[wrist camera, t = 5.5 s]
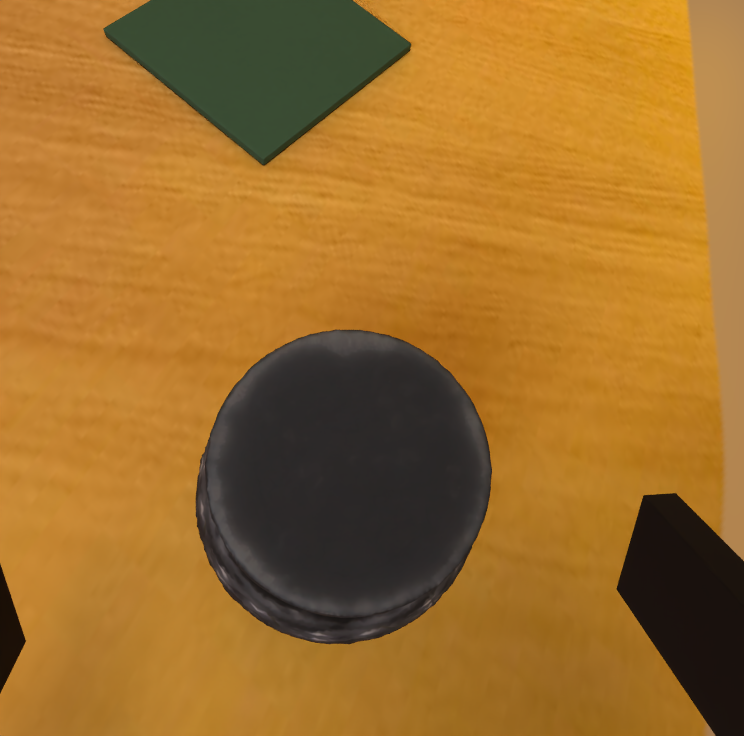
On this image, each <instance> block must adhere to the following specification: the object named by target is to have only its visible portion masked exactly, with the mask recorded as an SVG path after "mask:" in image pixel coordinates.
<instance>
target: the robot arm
mask: <svg viewBox="0 0 744 736" xmlns="http://www.w3.org/2000/svg"><path fill="white" fill-rule="evenodd" d="M617 591H618V592H619V594H620V595H621V597H622V598H623V599H624V601H625V602H626V604H627V605H628V607H629V608H630V610H631V611H632V613H633V614H634V616H635V617H636V619H637V620H638V622H639V623H640V625H641V626H642V628H643V629H644V630H645V632H646V633H647V635H648V636H649V638H650V639H651V641H652V642H653V644H654V645H655V647H656V648H657V650H658V651H659V653H660V654H661V656H662V657H663V659H664V660H665V661H666V663H667V664H668V666H669V667H670V669H671V670H672V672H673V673H674V675H675V676H676V678H677V679H678V681H679V682H680V684H681V685H682V687H683V688H684V690H685V691H686V692H687V694H688V695H689V697H690V698H691V700H692V701H693V703H694V704H695V706H696V707H697V709H698V710H699V712H700V713H701V715H702V716H703V718H704V719H705V721H706V722H707V724H708V725H709V726H710V728H711V729H712V731H713V732H714V734H715V735H716V736H744V561H743V560H742V559H741V558H740V557H739V556H738V555H737V554H736V553H735V552H734V551H733V550H732V549H731V548H730V547H729V546H728V545H727V544H726V543H725V542H724V541H723V540H722V539H721V538H720V537H719V536H718V535H717V534H716V533H715V532H714V531H713V530H712V529H711V528H710V527H709V526H708V525H707V524H706V523H705V522H704V521H703V520H702V519H701V518H700V517H699V516H698V515H697V514H696V513H695V512H694V511H693V510H692V509H691V508H690V507H689V506H688V505H687V504H686V503H685V502H684V501H683V500H682V499H681V498H680V497H679V496H678V495H677V494H676V493H673V494H657V495H643V499H642V502H641V506H640V509H639V513H638V516H637V520H636V523H635V527H634V530H633V534H632V537H631V541H630V544H629V547H628V551H627V554H626V558H625V561H624V565H623V568H622V572H621V575H620V579H619V582H618V586H617ZM25 642H26V640H25V637H24V634H23V631H22V628H21V625H20V622H19V619H18V616H17V613H16V610H15V607H14V604H13V601H12V598H11V595H10V592H9V589H8V586H7V583H6V580H5V577H4V574H3V571H2V568H1V565H0V693H1V691H2V689H3V687H4V685H5V683H6V681H7V679H8V677H9V675H10V672H11V670H12V668H13V666H14V664H15V662H16V660H17V658H18V656H19V654H20V652H21V650H22V648H23V646H24V644H25Z"/></svg>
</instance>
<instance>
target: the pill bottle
mask: <svg viewBox="0 0 744 736" xmlns="http://www.w3.org/2000/svg"><path fill="white" fill-rule="evenodd" d="M199 468H200V471H199V475H198V480H197V491H196V517H197V527H198V529H199V534H200V538H201V540H202V542H203V544H204V550H205V552H206V553H207V557H208V560H209V563H210V565H211V566H212V568H213V569H214V571H215V572H216V575H217V577H218V578H219V580H220V582H221V583H222V584H223V587H224V589H225V590H226V591H227V592H228V594H229V595H230V596H231V597H232V598H233V599H234V600H235V601H237V602H238V603H239V604H240V605H241V606H242V607H243V608H244V609H245V610H247V611H249V612H250V613H251V614H252V615H253V616H254V617H256V618H257V619H258V620H260V621H262V622H263V623H264V624H266V625H267V626H270V627H272V628H274V629H276V630H278V631H279V632H281V633H284V634H288V635H290V636H293V637H296V638H300V639H304V640H308V641H311V642H316V643H325V644H351V643H355V642H358V641H364V640H370V639H375V638H379V637H382V636H384V635H386V634H390V633H392V632H394V631H396V630H398V629H400V628H402V627H404V626H406V625H407V624H408V623H411V622H412V621H414V620H415V619H417V618H418V617H420V616H421V615H422V614H423V613H425V612H426V611H427V610H428V609H429V608H430V607H432V606H434V605H435V604H436V602H437V601H438V600H439V599H440V598H441V596H442V594H443V593H444V592H446V591H447V590H448V589H449V587H450V586H451V585H452V584H453V582H454V581H455V579H456V577H457V575H458V574H459V572H460V571H461V569H462V567H463V565H464V563H465V561H466V558H467V556H468V554H469V553H470V550H471V549H472V545H473V543H474V541H475V540H476V538H477V536H478V533H479V531H480V528H481V525H482V523H483V521H484V518H485V515H486V511H487V508H488V502H489V497H490V489H491V486H490V485H491V474H492V467H491V460H490V451H489V445H488V441H487V437H486V433H485V430H484V427H483V424H482V422H481V419H480V417H479V415H478V413H477V411H476V408H475V406H474V404H473V402H472V401H471V399H470V397H469V396H468V395H467V393H466V392H465V390H464V389H463V388H462V386H461V385H460V384H459V383H458V382H457V380H456V379H455V378H454V377H453V375H452V374H451V373H450V372H449V371H448V370H447V369H445V368H444V367H443V366H442V365H441V364H440V363H439V362H438V361H437V360H436V359H434V358H433V357H431V356H430V355H428V354H427V353H425V352H424V351H422V350H421V349H419V348H417V347H415V346H413V345H411V344H410V343H407V342H405V341H403V340H401V339H398V338H395V337H391V336H389V335H384V334H379V333H374V332H370V331H362V330H333V331H326V332H320V333H316V334H310V335H307V336H305V337H301V338H298V339H296V340H294V341H292V342H290V343H287V344H285V345H283V346H282V347H280V348H278V349H275V350H274V351H273V352H271V353H269V354H267V355H266V356H265V357H264V358H262V359H260V361H259V362H257V363H256V364H254V365H253V366H252V367H251V368H250V369H249V370H248V371H247V372H246V374H245V375H244V376H243V378H242V379H241V380H240V381H239V382H237V383H236V385H235V386H234V387H233V389H232V390H231V392H230V393H229V395H228V396H227V398H226V400H225V402H224V403H223V405H222V407H221V409H220V411H219V412H218V415H217V418H216V421H215V423H214V426H213V428H212V431H211V433H210V438H209V440H208V443H207V446H206V447H205V452H204V454H203V455H202V458H201V460H200V467H199Z"/></svg>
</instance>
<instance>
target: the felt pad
mask: <svg viewBox="0 0 744 736" xmlns="http://www.w3.org/2000/svg"><path fill="white" fill-rule="evenodd" d="M104 32H105V35H106V36H107V37H108V38H109V39H110V40H111V41H113V42H114V43H115V44H116V45H118V46H119V47H120V48H121V49H122V50H124V51H125V52H126V53H127V54H129V55H130V56H131V57H132V58H133V59H135V60H136V61H137V62H138V63H140V64H141V65H142V66H143V67H144V68H146V69H147V70H148V71H149V72H150V73H152V74H153V75H154V76H155V77H157V78H158V79H159V80H160V81H161V82H163V83H164V84H165V85H166V86H168V87H169V88H170V89H171V90H172V91H174V92H175V93H176V94H177V95H179V96H180V97H181V98H182V99H183V100H185V101H186V102H187V103H188V104H189V105H191V106H192V107H193V108H194V109H196V110H197V111H198V112H199V113H200V114H202V115H203V116H204V117H205V118H207V119H208V120H209V121H210V122H211V123H213V124H214V125H215V126H216V127H218V128H219V129H220V130H221V131H222V132H224V133H225V134H226V135H227V136H228V137H230V138H231V139H232V140H233V141H235V142H236V143H237V144H238V145H239V146H241V147H242V148H243V149H244V150H246V151H247V152H248V153H249V154H250V155H252V156H253V157H254V158H255V159H257V160H258V161H259V162H260V163H261V164H263V165H265V164H266V163H268V162H269V161H270V160H271V159H273V158H274V157H275V156H276V155H278V154H279V153H280V152H282V151H283V150H284V149H285V148H287V147H288V146H289V145H290V144H292V143H293V142H294V141H295V140H297V139H298V138H299V137H301V136H302V135H303V134H304V133H306V132H307V131H308V130H309V129H311V128H312V127H313V126H315V125H316V124H317V123H318V122H320V121H321V120H322V119H323V118H325V117H326V116H327V115H329V114H330V113H331V112H332V111H334V110H335V109H336V108H337V107H339V106H340V105H341V104H342V103H344V102H345V101H346V100H348V99H349V98H350V97H351V96H353V95H354V94H355V93H356V92H358V91H359V90H360V89H362V88H363V87H364V86H365V85H367V84H368V83H369V82H370V81H372V80H373V79H374V78H376V77H377V76H378V75H379V74H381V73H382V72H383V71H384V70H386V69H387V68H388V67H389V66H391V65H392V64H393V63H395V62H396V61H397V60H398V59H400V58H401V57H402V56H403V55H405V54H406V53H407V52H409V51H410V47H411V43H410V42H408V41H407V40H405V39H404V38H403V37H401V36H400V35H399V34H397V33H396V32H395V31H393V30H392V29H391V28H389V27H388V26H386V25H385V24H384V23H382V22H381V21H380V20H378V19H377V18H376V17H374V16H373V15H372V14H370V13H369V12H367V11H366V10H365V9H363V8H362V7H361V6H359V5H358V4H357V3H355V2H354V1H353V0H150V1H149V2H147V3H145V4H144V5H142V6H140V7H139V8H137V9H135V10H134V11H132V12H130V13H129V14H127V15H125V16H124V17H122V18H120V19H119V20H117V21H115V22H114V23H112V24H110V25H108V26H107V27H105V28H104Z"/></svg>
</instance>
